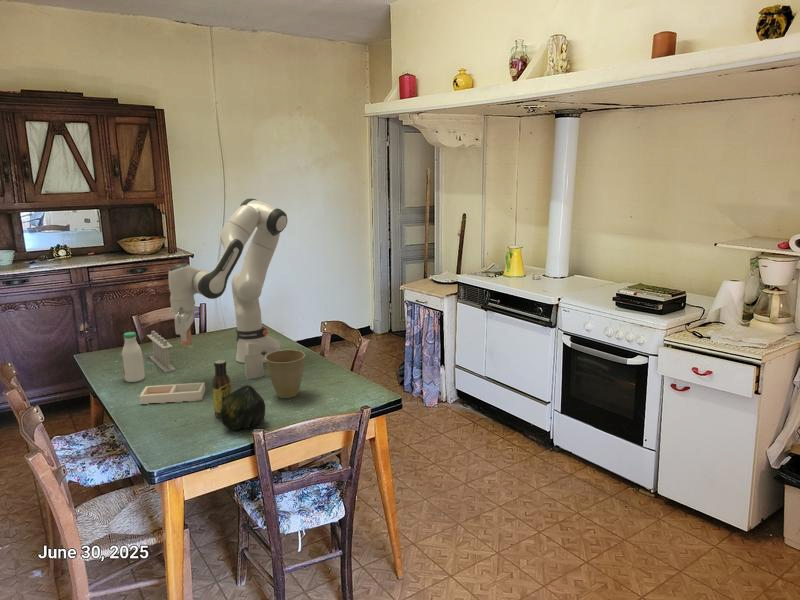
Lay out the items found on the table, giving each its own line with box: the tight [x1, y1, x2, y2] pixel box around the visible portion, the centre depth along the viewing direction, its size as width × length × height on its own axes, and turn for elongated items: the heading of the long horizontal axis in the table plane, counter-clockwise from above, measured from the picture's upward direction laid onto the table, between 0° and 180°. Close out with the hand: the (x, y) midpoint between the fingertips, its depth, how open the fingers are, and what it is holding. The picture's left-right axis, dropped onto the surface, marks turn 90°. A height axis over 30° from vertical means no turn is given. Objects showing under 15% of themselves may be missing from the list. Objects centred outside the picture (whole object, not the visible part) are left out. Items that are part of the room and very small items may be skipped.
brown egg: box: [179, 327, 193, 347], centre depth 242 cm, size 4×4×6 cm
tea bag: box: [243, 353, 265, 380], centre depth 252 cm, size 4×7×10 cm, turn 121°
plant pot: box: [265, 349, 306, 399], centre depth 232 cm, size 15×15×16 cm
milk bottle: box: [121, 331, 146, 383], centre depth 250 cm, size 8×8×20 cm
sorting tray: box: [138, 381, 206, 405], centre depth 232 cm, size 22×10×4 cm, turn 99°
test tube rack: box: [146, 330, 176, 373], centre depth 270 cm, size 25×4×13 cm, turn 37°
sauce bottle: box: [211, 359, 232, 418], centre depth 214 cm, size 6×6×20 cm
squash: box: [220, 384, 266, 431], centre depth 207 cm, size 14×15×15 cm
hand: (186, 338), depth 242 cm, fingers closed on brown egg, 4 cm apart
